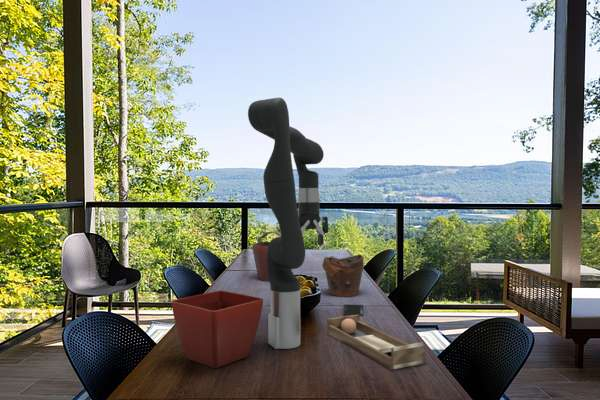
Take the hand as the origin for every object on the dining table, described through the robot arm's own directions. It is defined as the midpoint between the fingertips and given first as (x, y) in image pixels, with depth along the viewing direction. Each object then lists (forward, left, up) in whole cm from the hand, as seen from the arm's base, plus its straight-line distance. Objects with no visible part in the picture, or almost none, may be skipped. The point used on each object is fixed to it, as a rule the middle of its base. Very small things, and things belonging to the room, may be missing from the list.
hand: (309, 246), depth 171 cm
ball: (+6, -17, -25) cm, 31 cm away
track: (+6, -31, -28) cm, 42 cm away
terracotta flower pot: (+35, +36, -28) cm, 57 cm away
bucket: (+21, +83, -28) cm, 90 cm away
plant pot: (-39, -19, -28) cm, 52 cm away
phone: (+23, +8, -28) cm, 37 cm away
